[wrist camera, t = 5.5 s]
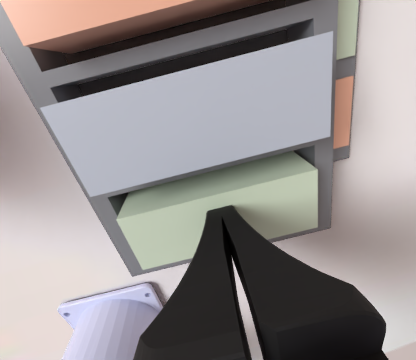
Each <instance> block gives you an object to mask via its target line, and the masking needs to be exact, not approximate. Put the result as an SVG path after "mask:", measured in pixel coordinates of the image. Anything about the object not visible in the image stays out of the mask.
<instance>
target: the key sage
mask: <svg viewBox="0 0 416 360" xmlns="http://www.w3.org/2000/svg"><path fill="white" fill-rule="evenodd" d="M229 205H232V206H234V208H235V209H236V210H237V212H238V213H239V214H240V215H241V216H242V218H243V219H244V220H245V221H246V222H247V223H248V224H249V225H250V226H251V227H253V228H254V229H255V230H256V231H257V232H258V233H259V234H261V235H262V236H263V237H264V238H265V239H267V240H268V239H272V238H276V237H280V236H284V235H288V234H292V233H296V232H300V231H305V230H309V229H313V228H317V227H318V169H317V168H315V167H314V166H312V165H311V164H310V163H308V162H307V161H306V160H304V159H303V158H301V157H300V156H299V155H297V154H296V153H295V152H293V151H289V152H285V153H281V154H277V155H273V156H269V157H265V158H261V159H257V160H253V161H249V162H245V163H241V164H237V165H233V166H229V167H226V168H222V169H218V170H214V171H210V172H206V173H202V174H198V175H194V176H190V177H186V178H182V179H178V180H174V181H170V182H166V183H162V184H158V185H154V186H150V187H146V188H142V189H138V190H134V191H130V192H129V193H128V196H127V198H126V200H125V202H124V204H123V206H122V208H121V210H120V213H119V215H118V217H117V219H116V221H117V222H118V224H119V226H120V228H121V230H122V232H123V234H124V236H125V238H126V239H127V241H128V243H129V245H130V247H131V249H132V251H133V253H134V254H135V256H136V258H137V260H138V262H139V264H140V266H141V268H142V269H143V270H145V269H149V268H153V267H158V266H162V265H166V264H170V263H174V262H178V261H182V260H186V259H190V258H193V256H194V254H195V252H196V249H197V246H198V244H199V241H200V238H201V235H202V232H203V228H204V224H205V220H206V213H207V211H209V210H213V209H217V208H221V207H225V206H229Z"/></svg>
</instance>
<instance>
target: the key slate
mask: <svg viewBox="0 0 416 360" xmlns="http://www.w3.org/2000/svg"><path fill="white" fill-rule="evenodd" d="M332 54H333V31H331V32H327V33H323V34H320V35H316V36H312V37H308V38H304V39H300V40H297V41H293V42H289V43H285V44H281V45H278V46H274V47H270V48H266V49H262V50H259V51H255V52H251V53H247V54H243V55H239V56H236V57H232V58H228V59H224V60H220V61H217V62H213V63H209V64H205V65H201V66H198V67H194V68H190V69H186V70H182V71H179V72H175V73H171V74H167V75H163V76H159V77H156V78H152V79H148V80H144V81H140V82H137V83H133V84H129V85H125V86H121V87H118V88H114V89H110V90H106V91H102V92H98V93H95V94H91V95H87V96H83V97H79V98H76V99H72V100H68V101H64V102H60V103H57V104H53V105H49V106H45V107H41V108H40V109H41V111H42V113H43V115H44V116H45V118H46V120H47V122H48V123H49V125H50V127H51V129H52V130H53V132H54V134H55V136H56V137H57V139H58V141H59V143H60V145H61V146H62V148H63V150H64V152H65V153H66V155H67V157H68V159H69V160H70V162H71V164H72V166H73V168H74V169H75V171H76V173H77V175H78V176H79V178H80V180H81V182H82V183H83V185H84V187H85V189H86V190H87V192H88V194H89V196H90V197H93V196H97V195H101V194H105V193H109V192H113V191H117V190H121V189H125V188H128V187H132V186H136V185H140V184H144V183H148V182H152V181H156V180H160V179H164V178H168V177H172V176H176V175H180V174H184V173H188V172H192V171H196V170H200V169H204V168H208V167H212V166H215V165H219V164H223V163H227V162H231V161H235V160H239V159H243V158H247V157H251V156H255V155H259V154H263V153H267V152H271V151H275V150H279V149H283V148H287V147H291V146H295V145H299V144H303V143H306V142H310V141H314V140H318V139H322V138H326V137H330V130H331V92H332Z"/></svg>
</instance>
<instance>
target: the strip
mask: <svg viewBox="0 0 416 360" xmlns="http://www.w3.org/2000/svg"><path fill="white" fill-rule="evenodd" d="M359 7H360V0H338V27H337V56H336V85H335V115H334V144H333V162H334V161H338V160H342V159H346V158H349V150H350V136H351V121H352V107H353V93H354V79H355V64H356V50H357V36H358V22H359Z"/></svg>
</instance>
